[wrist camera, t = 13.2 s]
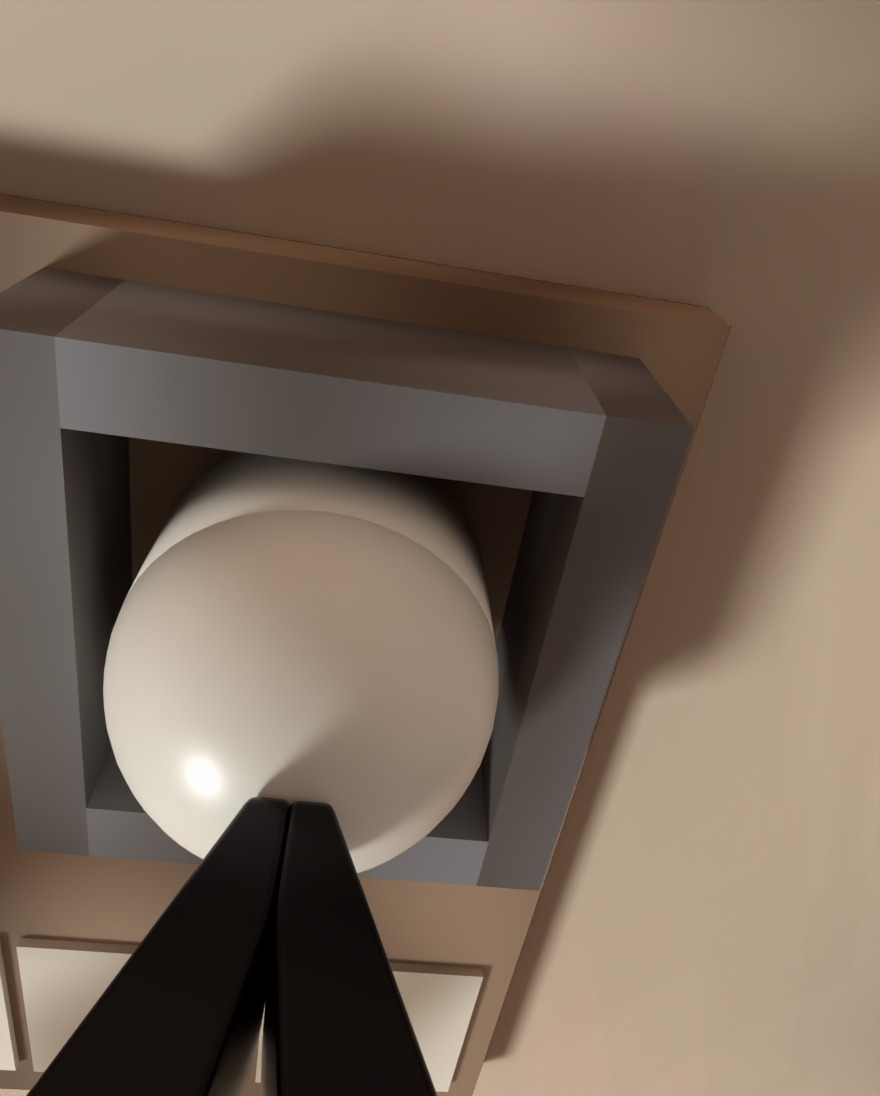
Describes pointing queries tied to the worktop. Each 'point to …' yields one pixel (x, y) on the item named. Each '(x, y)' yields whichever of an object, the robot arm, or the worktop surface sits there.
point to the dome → (305, 654)
